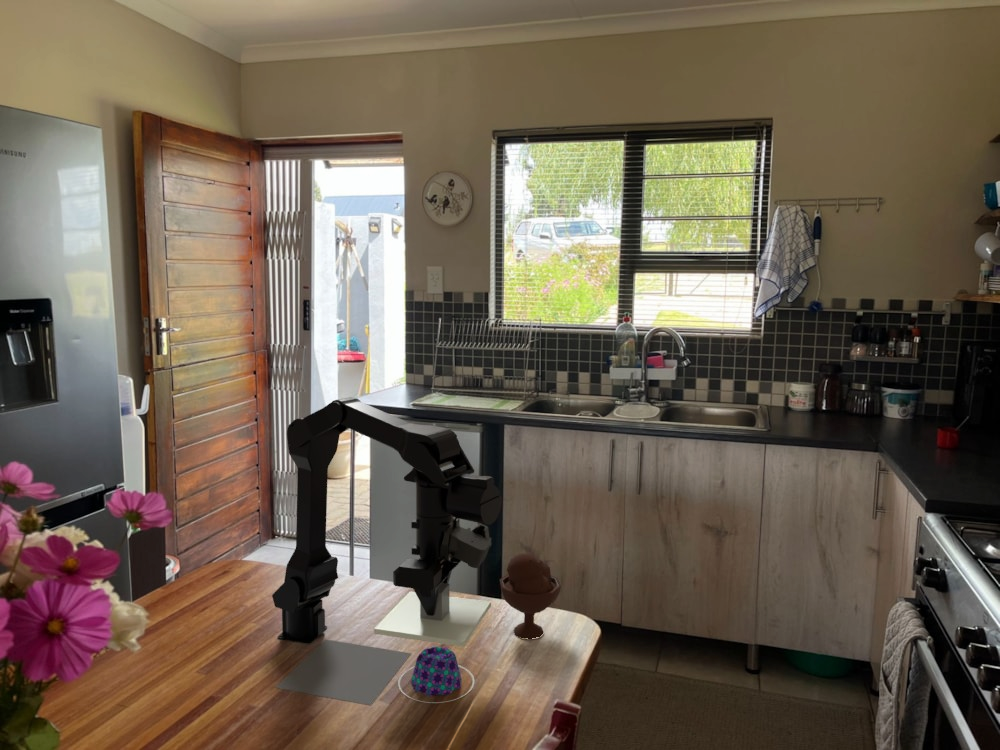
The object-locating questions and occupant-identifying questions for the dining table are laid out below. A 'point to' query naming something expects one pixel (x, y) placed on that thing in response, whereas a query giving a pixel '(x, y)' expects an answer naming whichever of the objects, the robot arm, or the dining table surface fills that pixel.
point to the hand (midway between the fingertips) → (434, 609)
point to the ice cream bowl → (529, 591)
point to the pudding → (436, 673)
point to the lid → (435, 619)
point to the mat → (345, 672)
